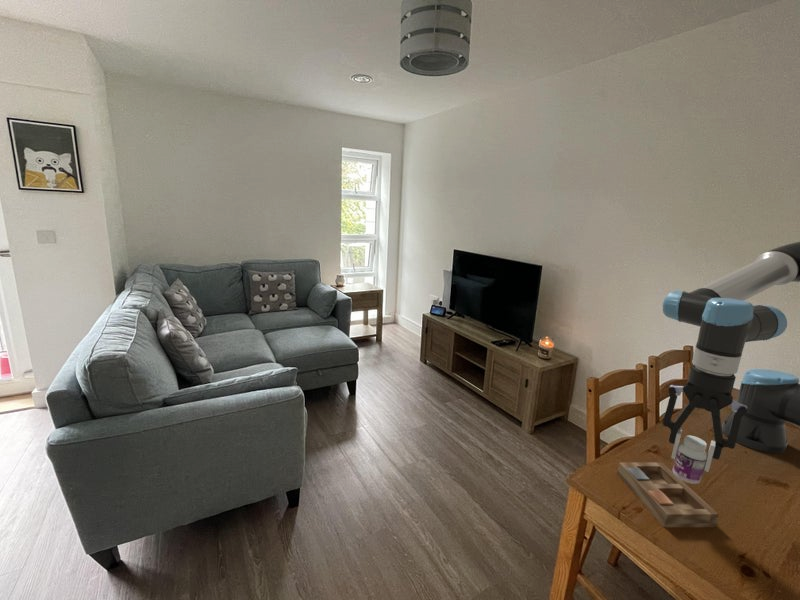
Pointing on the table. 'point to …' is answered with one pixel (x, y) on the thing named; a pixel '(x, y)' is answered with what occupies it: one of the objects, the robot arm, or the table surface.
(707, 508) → the socket block
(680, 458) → the pill bottle
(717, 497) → the table surface
